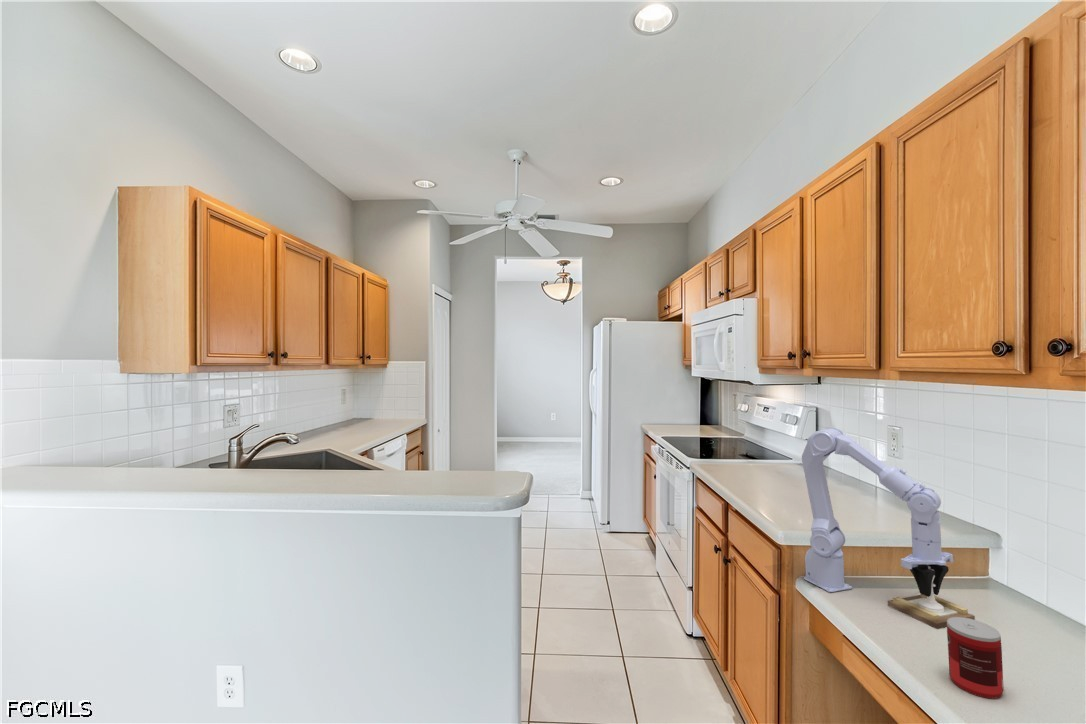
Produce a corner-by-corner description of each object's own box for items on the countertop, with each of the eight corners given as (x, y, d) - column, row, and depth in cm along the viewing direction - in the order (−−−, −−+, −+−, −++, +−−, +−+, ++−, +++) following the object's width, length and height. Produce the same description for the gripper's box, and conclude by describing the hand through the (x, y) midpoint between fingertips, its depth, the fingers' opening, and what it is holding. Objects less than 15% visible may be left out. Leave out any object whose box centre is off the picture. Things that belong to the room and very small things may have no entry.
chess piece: (916, 601, 122) (914, 561, 122) (941, 605, 119) (939, 564, 120) (920, 609, 117) (918, 568, 118) (946, 614, 115) (944, 571, 115)
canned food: (975, 671, 95) (972, 615, 96) (1016, 698, 87) (1013, 637, 88) (938, 673, 95) (935, 617, 95) (976, 700, 87) (972, 639, 87)
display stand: (887, 605, 123) (887, 596, 123) (923, 598, 126) (922, 589, 126) (937, 628, 111) (936, 618, 111) (974, 620, 114) (974, 610, 114)
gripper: (920, 547, 113) (923, 605, 113) (965, 540, 117) (968, 596, 117) (891, 538, 120) (894, 592, 120) (935, 531, 124) (938, 584, 123)
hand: (929, 594), depth 119 cm, fingers closed on chess piece
